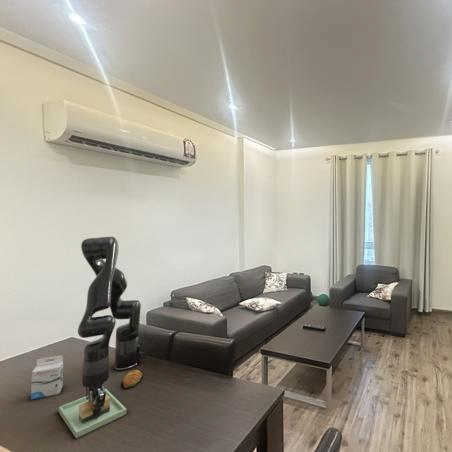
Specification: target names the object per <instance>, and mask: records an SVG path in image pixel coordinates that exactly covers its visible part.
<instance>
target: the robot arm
mask: <svg viewBox="0 0 452 452" xmlns="http://www.w3.org/2000/svg"><path fill="white" fill-rule="evenodd" d="M80 248H81V249H80V250H81V252H82V255H83V257H84V259H85V261H86V262H87V264H88V265H89V267H90V268H91V270H92V271H93V273H94V275H95V277H94V279H93V280H92V282H91V283H90V285H89V287H88V289H87V296H86V306H85V310H84V312H83V313H84V314H83V316H82V318H81V320H80V322H79V324H78V327H77V335H78V337H80V338H82V339H86V338H87V339H88V338H93V337H98V336H101V337H99V338H98V339H95V340H92V341H90V342H88V343H86V344H85V345H84V349H83V363H82V379H81V386H82V387H84V388H85V397H86V399H87V400H88V401H91V403H93V418H94V419H95V418H97V417H99V416H101V407H102V406H104V403H105V397H106V392H104V393H103V390H104V389H105V386H104V385H103V384H104V383H106V382H107V381H108V380H109V378H110V357H109V356H110V355H109V354H110V350H109V349H110V340H111V337H112V334H113V332H114V329H115V326H116V323H117V322H116V321H117V320H120V321H121V320H128V322H127V323H124V324H121V325H119V326H118V327H117V328H116V329H115V347H114V348H115V350H114V352H115V353H114V370H116V371H126V370H129V369H132V368H135V367H137V365H139V364H140V360H141V359H142V357H145V356H146V355H145V352H142V351H141V344H139V336H140V335H139V334H140V333H139V331H140V319H141V310H142V309H141V308H142V304H141V301H140V300H138V299H130V300H129V299H127V300H123V299H122V298H121V297H122V295H123V294H124V293H125V291H126V290H127V288H128V280H127V279H126V276H125V273H124V272H123V271H122V270H121V269H119V268H118V267H117V261H118V258H119V251H120V245H119V242H118V239H117V238H116V237H115V236H100V237H99V236H98V237H89V238H85V239H84V240H83V241H82V242H81V245H80ZM108 309H110V312H111V314H106V315H100V316H99V315H98V316H94V315H95V314H96V313H99V312H102V311H105V310H108Z"/></svg>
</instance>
